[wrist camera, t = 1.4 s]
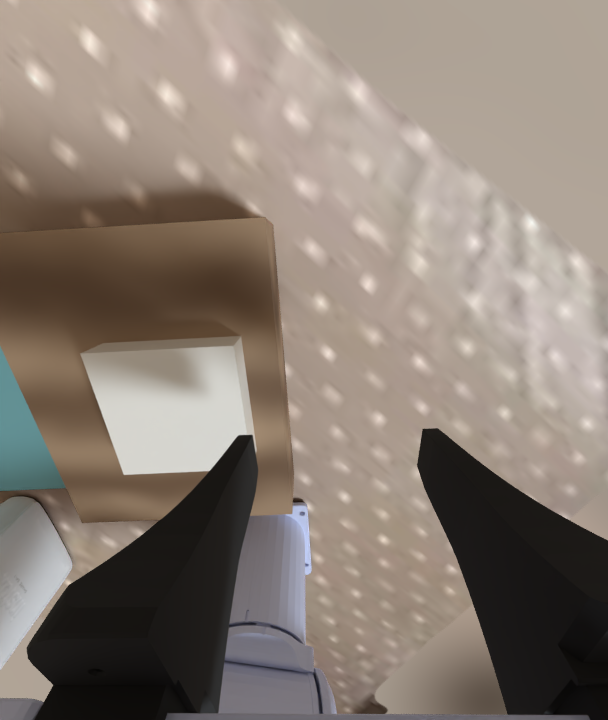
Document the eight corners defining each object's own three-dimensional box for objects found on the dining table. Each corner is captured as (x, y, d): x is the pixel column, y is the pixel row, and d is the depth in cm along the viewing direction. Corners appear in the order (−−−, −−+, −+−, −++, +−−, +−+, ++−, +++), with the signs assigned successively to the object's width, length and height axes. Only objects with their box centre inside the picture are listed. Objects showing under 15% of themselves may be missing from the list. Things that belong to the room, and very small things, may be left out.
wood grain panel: (293, 474, 25) (292, 514, 21) (114, 482, 25) (82, 522, 21) (272, 224, 18) (264, 217, 14) (22, 239, 18) (-51, 236, 14)
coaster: (256, 449, 19) (252, 469, 17) (139, 455, 19) (123, 474, 17) (240, 335, 16) (233, 345, 14) (103, 343, 16) (80, 353, 15)
